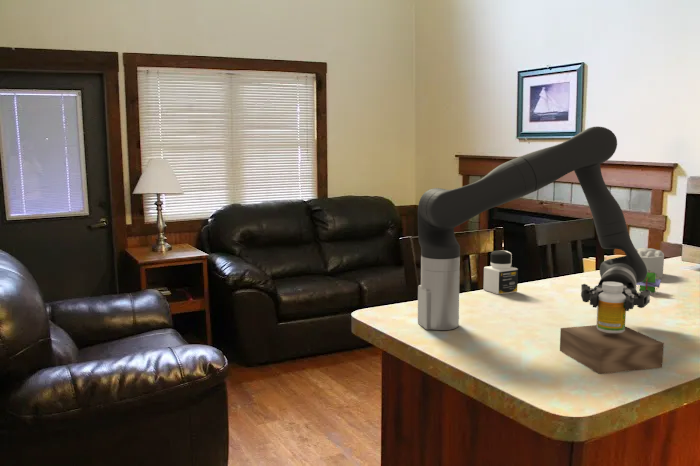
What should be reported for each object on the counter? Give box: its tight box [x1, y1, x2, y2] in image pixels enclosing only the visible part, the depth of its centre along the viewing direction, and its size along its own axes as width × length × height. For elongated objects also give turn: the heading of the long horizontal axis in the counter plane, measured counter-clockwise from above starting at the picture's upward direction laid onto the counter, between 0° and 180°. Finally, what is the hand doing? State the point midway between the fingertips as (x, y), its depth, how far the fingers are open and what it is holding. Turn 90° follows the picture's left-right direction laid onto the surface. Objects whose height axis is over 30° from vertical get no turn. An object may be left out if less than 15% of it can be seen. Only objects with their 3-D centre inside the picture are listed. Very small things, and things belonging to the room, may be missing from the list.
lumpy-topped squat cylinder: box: [636, 247, 665, 279], centre depth 207 cm, size 10×13×9 cm
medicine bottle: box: [483, 249, 519, 296], centre depth 188 cm, size 7×7×12 cm
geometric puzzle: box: [636, 270, 662, 293], centre depth 185 cm, size 7×7×8 cm
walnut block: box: [559, 324, 665, 375], centre depth 130 cm, size 14×14×5 cm
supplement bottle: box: [596, 282, 627, 333], centre depth 129 cm, size 5×5×10 cm
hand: (610, 304), depth 127 cm, fingers closed on supplement bottle, 5 cm apart
